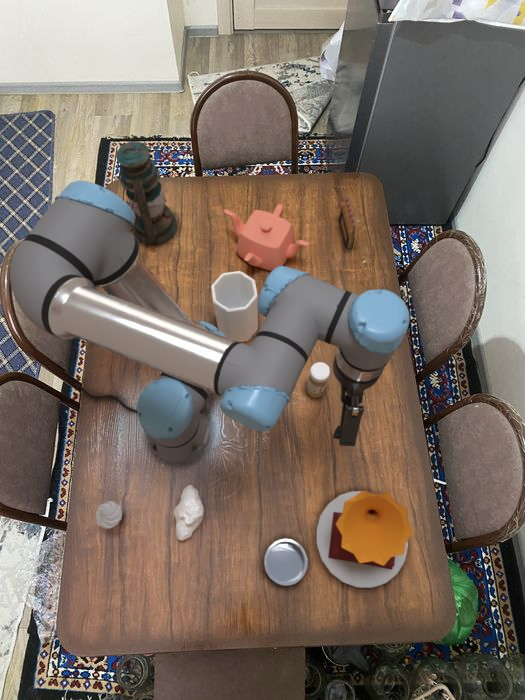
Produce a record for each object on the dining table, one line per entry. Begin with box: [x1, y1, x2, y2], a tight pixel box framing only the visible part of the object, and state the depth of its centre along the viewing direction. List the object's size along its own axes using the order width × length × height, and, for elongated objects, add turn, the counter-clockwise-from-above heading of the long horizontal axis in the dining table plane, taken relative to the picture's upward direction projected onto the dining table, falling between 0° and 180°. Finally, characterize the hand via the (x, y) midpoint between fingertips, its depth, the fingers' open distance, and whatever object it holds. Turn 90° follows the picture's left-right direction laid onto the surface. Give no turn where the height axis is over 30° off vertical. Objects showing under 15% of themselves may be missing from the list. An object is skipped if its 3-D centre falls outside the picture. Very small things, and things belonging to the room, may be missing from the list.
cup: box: [210, 270, 259, 343], centre depth 130 cm, size 11×11×18 cm
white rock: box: [173, 484, 205, 541], centre depth 115 cm, size 12×8×11 cm
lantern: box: [115, 141, 178, 246], centre depth 137 cm, size 19×14×30 cm
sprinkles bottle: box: [305, 361, 331, 398], centre depth 125 cm, size 5×5×14 cm
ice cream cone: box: [94, 500, 123, 529], centre depth 112 cm, size 6×6×15 cm
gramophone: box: [315, 489, 414, 589], centre depth 106 cm, size 20×20×25 cm
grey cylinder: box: [263, 538, 309, 587], centre depth 113 cm, size 9×9×6 cm
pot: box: [223, 203, 310, 272], centre depth 142 cm, size 18×17×12 cm
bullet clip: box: [338, 193, 358, 250], centre depth 145 cm, size 11×2×12 cm, turn 8°
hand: (340, 401), depth 97 cm, fingers open, 13 cm apart
